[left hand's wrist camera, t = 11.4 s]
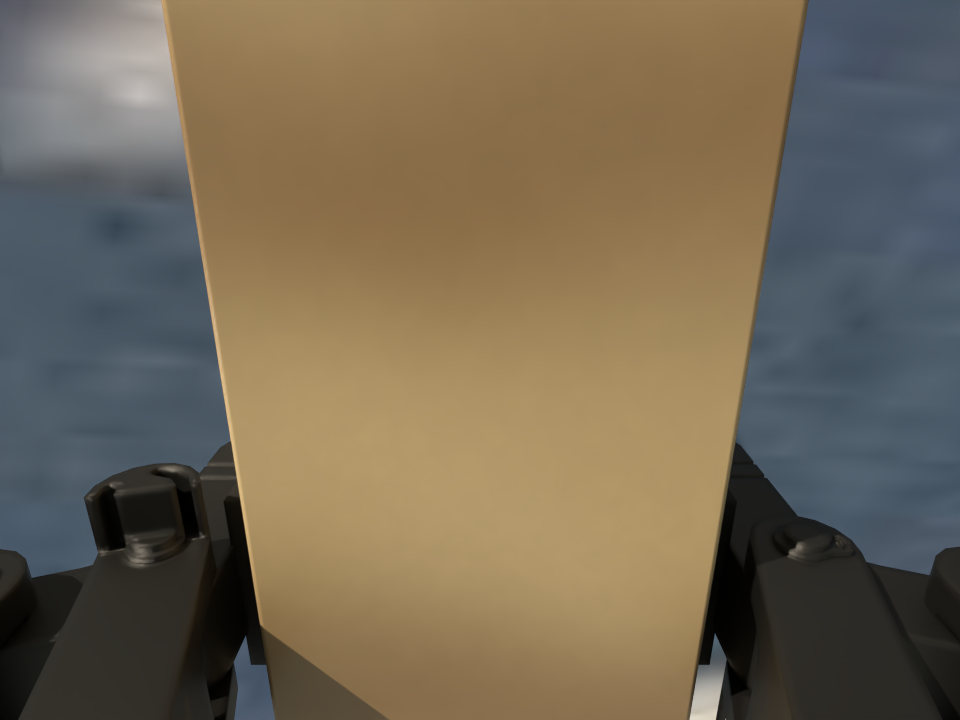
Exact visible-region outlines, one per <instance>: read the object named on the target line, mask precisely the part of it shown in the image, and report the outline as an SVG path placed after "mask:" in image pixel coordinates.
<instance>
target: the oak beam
mask: <svg viewBox="0 0 960 720" xmlns="http://www.w3.org/2000/svg"><path fill="white" fill-rule="evenodd" d="M808 1H809V0H162V7H163V13H164V19H165V26H166V32H167V38H168V45H169V51H170V57H171V64H172V70H173V76H174V83H175V89H176V95H177V102H178V108H179V114H180V121H181V127H182V133H183V140H184V146H185V152H186V159H187V165H188V171H189V178H190V184H191V190H192V197H193V203H194V209H195V216H196V222H197V228H198V235H199V241H200V247H201V254H202V260H203V266H204V273H205V279H206V285H207V292H208V298H209V304H210V311H211V317H212V323H213V330H214V336H215V342H216V349H217V355H218V361H219V368H220V374H221V380H222V387H223V393H224V399H225V406H226V412H227V418H228V425H229V431H230V437H231V444H232V450H233V456H234V463H235V469H236V475H237V482H238V488H239V494H240V501H241V507H242V513H243V520H244V526H245V532H246V539H247V545H248V551H249V557H250V564H251V570H252V576H253V583H254V589H255V595H256V602H257V608H258V614H259V621H260V627H261V633H262V640H263V646H264V652H265V659H266V665H267V671H268V678H269V684H270V690H271V697H272V703H273V709H274V716H275V720H689V719H690V713H691V707H692V701H693V695H694V689H695V683H696V677H697V670H698V664H699V658H700V652H701V646H702V640H703V634H704V628H705V622H706V616H707V610H708V604H709V598H710V592H711V586H712V580H713V574H714V568H715V562H716V556H717V550H718V544H719V538H720V532H721V526H722V520H723V514H724V508H725V502H726V496H727V490H728V484H729V478H730V472H731V466H732V459H733V453H734V447H735V441H736V435H737V429H738V423H739V417H740V411H741V405H742V399H743V393H744V387H745V381H746V375H747V369H748V363H749V357H750V351H751V345H752V339H753V333H754V327H755V321H756V315H757V309H758V303H759V297H760V291H761V285H762V279H763V273H764V267H765V261H766V255H767V248H768V242H769V236H770V230H771V224H772V218H773V212H774V206H775V200H776V194H777V188H778V182H779V176H780V170H781V164H782V158H783V152H784V146H785V140H786V134H787V128H788V122H789V116H790V110H791V104H792V98H793V92H794V86H795V80H796V74H797V68H798V62H799V56H800V50H801V43H802V37H803V31H804V25H805V19H806V13H807V7H808Z"/></svg>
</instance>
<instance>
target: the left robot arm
mask: <svg viewBox="0 0 960 720" xmlns="http://www.w3.org/2000/svg"><path fill="white" fill-rule="evenodd" d="M84 500H85V504H86V508H87V512H88V516H89V519H90V523H91V527H92V531H93V535H94V539H95V542H96V546H97V550H98V555H97V558H96V560H95V562H94V564H93V565H91V566H88V567H84V568H80V569H74V570H69V571H64V572H59V573H54V574H49V575H44V576H39V577H34V578H32V577H31V574H30V571H29V568H28V565H27V561H26V558H24V557H23V556H22V555H20V554H19V553H18V552H16V551H9V550H2V549H0V720H234V717H235V708H236V700H237V692H238V685H237V678H236V672H235V667H234V660H235V658H236V655H237V653H238V651H239V649H240V647H241V645H242V642H243V640H244V638H245V636H246V638H247V644H248V650H249V656H250V661H251V665H266V659H265V652H264V646H263V640H262V633H261V627H260V621H259V614H258V608H257V602H256V595H255V589H254V583H253V576H252V570H251V564H250V557H249V551H248V545H247V539H246V532H245V526H244V520H243V513H242V507H241V501H240V494H239V488H238V482H237V475H236V469H235V463H234V456H233V450H232V444H231V441H230V442H229V443H227V444H225V445H224V446H222V447H220V449H219V450H218V451H217V452H216V454H215V455H214V456H213V457H212V459H211V460H210V461H209V462H208V466H207V467H204V469H203V470H202V471H201V472H200V474H199V473H198V472H197V471H196V470H194V469H193V468H192V467H190V466H186V465H181V464H176V463H163V464H151V465H146V466H141V467H136V468H132V469H129V470H127V471H124V472H121V473H118V474H116V475H113V476H111V477H109V478H108V479H106V480H104V481H102V482H101V483H99V484H97V485H96V486H94V487H93V488H92V489H91V490H90V491H89V493H88V494H87V495H86V496H85V497H84ZM715 634H716V636H717V638H718V640H719V642H720V645H721V647H722V649H723V651H724V653H725V655H726V658H727V661H726V667H725V672H724V678H723V683H722V689H721V694H720V700H719V705H718V711H717V716H716V720H725V718H726V720H960V547H954V548H946V549H944V550H943V551H942V552H940V553H939V554H938V555H936V557H935V560H934V563H933V567H932V570H931V573H930V575H925V574H920V573H915V572H910V571H905V570H900V569H895V568H890V567H885V566H880V565H876V564H872V563H868V562H866V561H865V559H864V556H863V554H862V553H861V551H860V550H859V549H858V548H857V546H856V545H855V544H854V543H853V541H852V540H851V539H849V538H848V537H846V536H845V535H843V534H842V533H841V532H839V531H838V530H836V529H834V528H832V527H830V526H827V525H825V524H823V523H820V522H818V521H816V520H812V519H808V518H803V517H799V516H797V515H796V513H795V512H794V511H793V510H792V509H791V507H790V506H789V505H788V504H787V502H786V501H785V500H784V499H783V497H782V496H781V495H780V494H779V492H778V491H777V490H776V489H775V488H774V486H773V485H772V484H771V483H770V481H769V480H768V479H767V478H764V474H763V473H762V471H761V470H760V469H759V468H758V467H757V465H754V464H753V460H752V459H751V458H750V457H749V455H748V454H747V453H746V452H745V450H744V449H743V448H742V447H741V446H740V445H739V444H737V443H736V442H735V447H734V453H733V459H732V466H731V472H730V478H729V484H728V490H727V496H726V502H725V508H724V514H723V520H722V526H721V532H720V538H719V544H718V550H717V556H716V562H715V568H714V574H713V580H712V586H711V592H710V598H709V604H708V610H707V616H706V622H705V628H704V634H703V640H702V646H701V652H700V658H699V664H698V665H709V664H710V658H711V652H712V647H713V641H714V635H715Z"/></svg>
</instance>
